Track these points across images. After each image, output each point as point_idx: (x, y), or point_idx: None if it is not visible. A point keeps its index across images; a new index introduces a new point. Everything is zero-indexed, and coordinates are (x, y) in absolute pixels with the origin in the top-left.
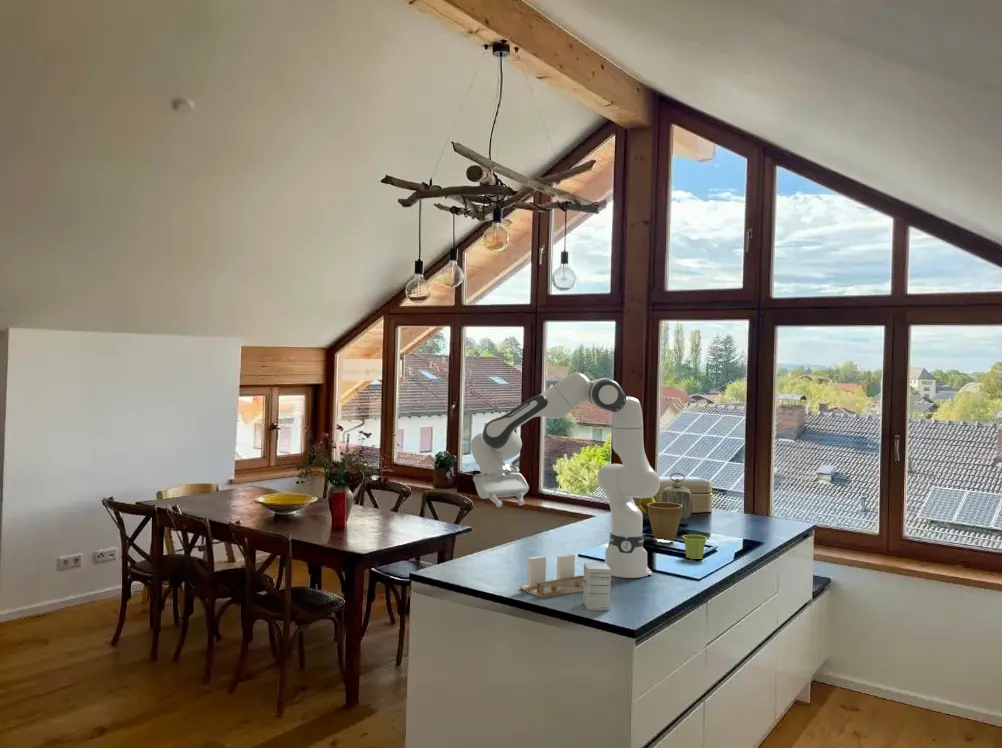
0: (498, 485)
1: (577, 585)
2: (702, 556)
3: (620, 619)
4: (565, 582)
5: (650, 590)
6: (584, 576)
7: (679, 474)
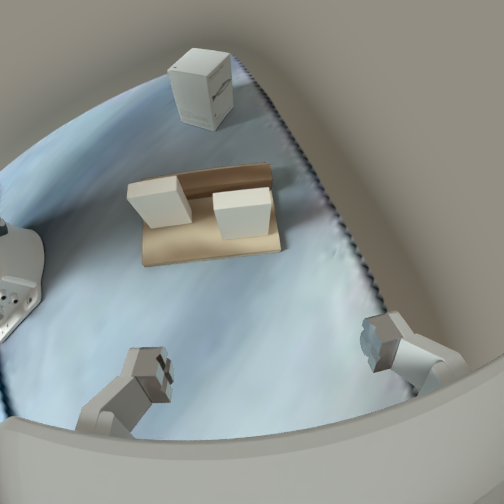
0: (423, 483)
1: None
2: None
3: None
4: (202, 170)
5: (68, 161)
6: (217, 85)
7: None
